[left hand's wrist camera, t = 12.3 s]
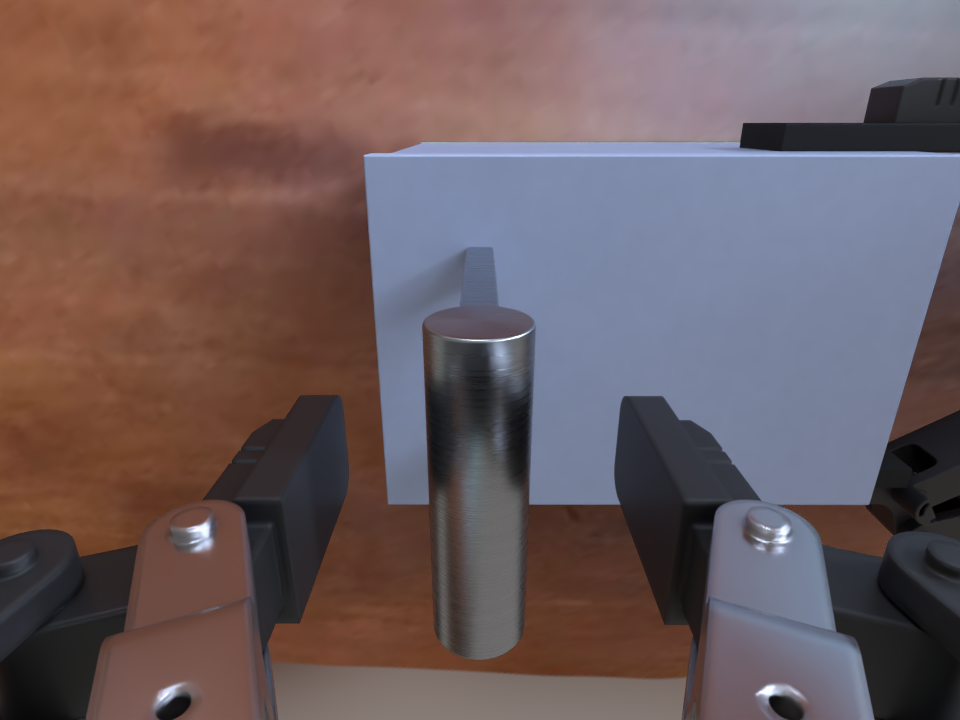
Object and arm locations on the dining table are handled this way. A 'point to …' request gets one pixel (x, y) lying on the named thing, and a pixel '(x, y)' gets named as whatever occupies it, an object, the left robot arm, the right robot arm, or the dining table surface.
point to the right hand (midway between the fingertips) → (730, 314)
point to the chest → (599, 148)
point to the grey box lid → (635, 332)
